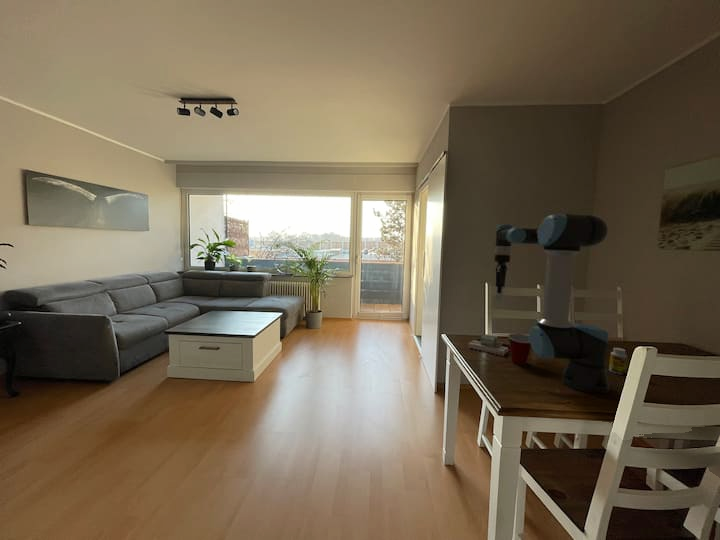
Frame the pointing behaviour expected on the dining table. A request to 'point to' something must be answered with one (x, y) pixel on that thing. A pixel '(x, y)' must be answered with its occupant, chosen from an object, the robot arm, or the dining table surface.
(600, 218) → the robot arm
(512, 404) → the dining table surface
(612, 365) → the supplement bottle
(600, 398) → the dining table surface
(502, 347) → the trap deck
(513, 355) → the plastic cup
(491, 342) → the sage block
